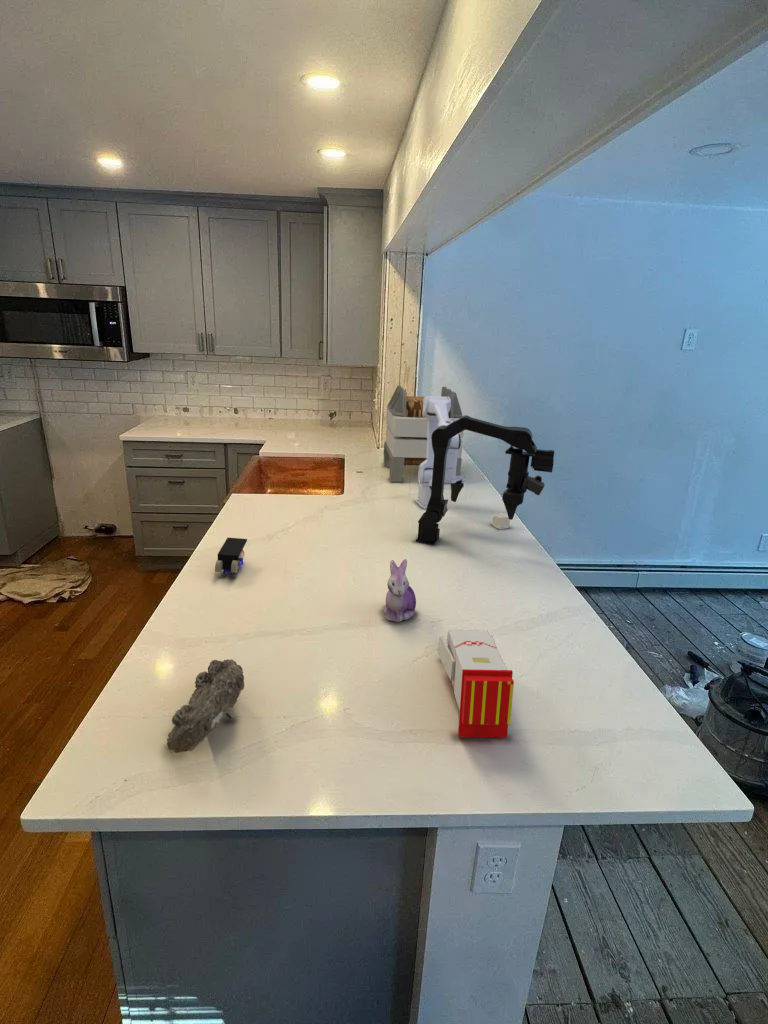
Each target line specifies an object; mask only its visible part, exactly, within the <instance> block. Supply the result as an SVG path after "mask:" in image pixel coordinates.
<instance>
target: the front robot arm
mask: <svg viewBox="0 0 768 1024" xmlns="http://www.w3.org/2000/svg"><path fill="white" fill-rule="evenodd" d="M462 431H469V432H473V433H475V434H479V435H483V436H487V437H491V438H495V439H497V440H500V441H503V442H504V443H506V444H508V445H510V446H509V447H508V448H506V450H505V452H504V453H505V455H510V458H509V459H510V460H509V466H508V468H509V469H508V472H507V483H506V489H505V490H503V492H502V496H501V497H502V499H501V500H502V502H503V505H504V507H505V511H506V514H507V515H508V517H509V519H510V521H512V520H513V519H514V516H515V514H516V511H517V508H518V507H519V506H520V505H522V504H523V502H524V499H525V494H526V493H527V490H528V491H529V492H531V493H534V495H536V496H540V495H541V493H542V491H543V490H544V488H545V485H546V484H545V482H544V481H543V478H542V476H541V475H539V474H537V475H535V476H534V477H533V476H530V475H529V474H530V472H529V464H530V467H531V469H532V470H533V471H536V472H543V473H544V472H545V473H553V471H554V462H555V461H554V460H555V459H554V457H555V450H554V449H540V448H539V449H538V447H537V445H536V443H535V442H534V440H533V433H532V430H531V429H530V428H528V427H524V426H507V425H506V426H505V425H501V424H498V423H493V422H491V421H485V420H482V419H479V418H475V417H473V416H470V415H462V417H461V418H460V419H458V420H456V421H454V422H453V423H451V424H449V425H447V426H446V425H442V426H439V427H438V428H437V429H436V430H435V431H434V432H433V433H432V436H431V439H432V448H433V452H434V463H433V475H432V487H431V496H430V499H429V502H428V505H427V508H425V511H424V512H423V514H421V516H420V518H419V519H418V520H417V523H418V527H417V538H416V539H415V542H417V543H421V544H425V545H430V546H435V544H436V543H437V542H438V541H439V540H440V532H441V528H439V526H440V524H439V523H440V522H441V520H442V519H443V518H444V517H445V515H446V514H447V512H448V502H449V499H445V495H444V489H445V484H444V479H445V468H446V457H447V452H448V449H449V446H450V443H451V440H452V437H454V436H455V435H457V434H459V433H460V432H462ZM530 457H531V460H530Z"/></svg>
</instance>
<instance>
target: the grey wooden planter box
mask: <svg viewBox="0 0 768 1024" xmlns="http://www.w3.org/2000/svg"><path fill="white" fill-rule="evenodd" d="M440 393H441V394H440V397H447V396H449V398H450V399H451V409H450V411H449V413H448V415H449V419H451V420H452V421H453V422H454V421H456V420H458V419H460V418H461V417H462V416H463V411H462V408H461V405H460V402H459V398H458V395H457V392H455V391H453V390H452V389H451V388H447V386H442V387H441V392H440ZM407 394H408V393H407V390H406V389H404V388H403V387H402V385H399V384H398V385H397V386H396V388H395V390H394V392H393V394H392V395H391V398H390V400H389V402H388V404H387V405H386V413H385V414H386V415H385V423H386V428H385V438H384V442H383V466H384V467H388V468H389V475H388V476H389V477H388V478H389V480H390V482H391V483H402V482H403V475H404V469H405V466H406V467H407V466H411V467H412V466H413V467H415V466H416V467H417V466H418V467H419V466H420V464H421V463H422V462H424V461H425V460H426V453H427V418H425V417H423V400H424V397H425V396H415V395H414V396H413V395H412V396H411V395H407ZM464 431H465V430H464ZM464 431H462V432H460V435H461V446H460V449H457V450H458V455H457V466H456V476H461V472H462V461H463V460H462V453H463V442H464V441H463V440H462V439H463V438H464Z"/></svg>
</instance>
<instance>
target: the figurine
mask: <svg viewBox="0 0 768 1024" xmlns="http://www.w3.org/2000/svg"><path fill="white" fill-rule="evenodd" d="M407 567H408V559H406V558H404V559H403V560H402V561H401V563H400V565H399V566H398V565H397V563H396V562H395V561H394V560H393V559H391V560H390V561H389V570H390V576H389V578H388V579H387V589H388V591H387V592H386V594H385V595H386V596H385V607H384V615H385V616H386V620H387V621H391V622H395V623H400V622H402V621H406V620H409V619H410V618H411V617H413V616H414V615H415V610H416V606H417V597H416V593H415V591H414V590H413V587H411V586H410V582H409V579H408V577H407V574H406V571H407Z"/></svg>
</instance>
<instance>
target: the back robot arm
mask: <svg viewBox="0 0 768 1024" xmlns="http://www.w3.org/2000/svg"><path fill="white" fill-rule="evenodd" d="M423 397H424V400H423V417H425V418H427V453H426V460H425V461H424V462H422V463H421V464H420V466H418V471H417V480H418V483H419V486H418V491H417V492H418V493H417V499H416V500H415V502H416V504H418V506H420V507H421V508H422V509H427V505H428V502H429V499H430V496H431V487H432V475H433V463H434V452H433V448H432V439H431V436H432V433H433V432H434V431H435V430H436V429H437V428H438V427H439V426H442V425H446V426H447V425H449V424H451V423H453V421H452V420H451V419H449V415H448V413H449V411H450V409H451V399H450V398H449V396H447V397H441V395H439V396H438V395H437V396H436V395H435V396H433V395H425V396H423ZM461 440H462V438H461V435H460V433H459V434H457V435H455V436H454V437H452V440H451V443H450V446H449V449H448V452H447V457H446V468H445V479H444V485H449V484H450V501H451V502H453V503H457V500H458V497H459V494H460V492H461V491H462V489H463V488H464V486H465V476H463V475H460V476H456V466H457V455H458V450H457V449H460V446H461Z"/></svg>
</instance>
